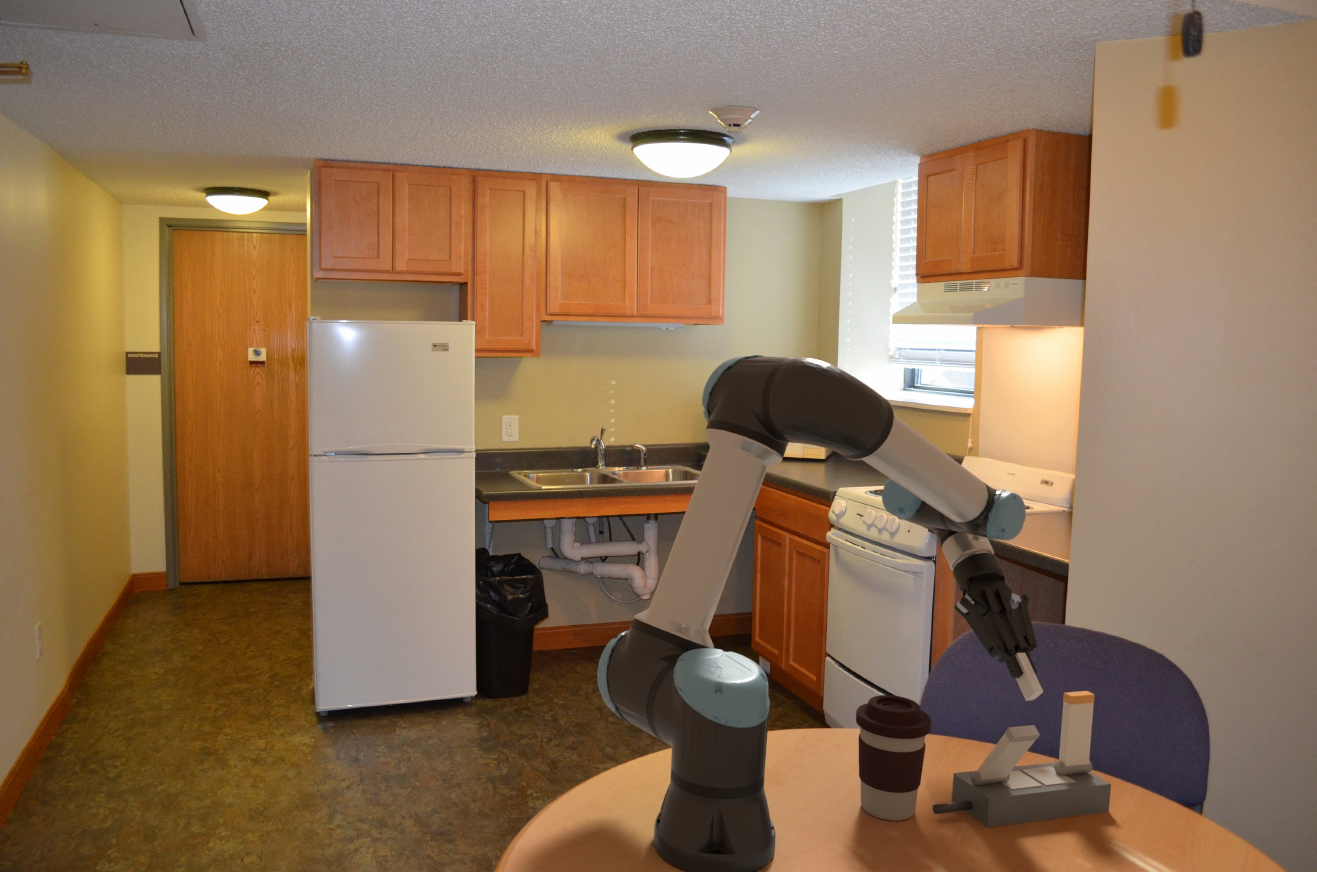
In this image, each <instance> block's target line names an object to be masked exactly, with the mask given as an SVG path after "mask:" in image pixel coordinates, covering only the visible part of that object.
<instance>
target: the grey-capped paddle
mask: <svg viewBox="0 0 1317 872" xmlns="http://www.w3.org/2000/svg"><path fill="white" fill-rule="evenodd" d="M1040 735H1041V734H1040V732H1039V731H1038V729H1037V727H1036V726H1035V725H1034V724H1033V725H1032V724H1031V725H1019V726H1009V727H1007V729H1006V730H1005V732H1004V733H1003V736H1002V737H1001V738H1000V739H999V741H997V743H996V745H995V746H994V747H993V749H992V750H991V751H990V752H989V754H988V755H987V757H986V758H985V760H983V762H982V763H981V765H980V766H979V768H978V769H977V770H971V771H972V772H971V781H972V783H973V784H974V785H980V784H989V783H998V782H1006V781H1009V778H1010V775H1009V773H1010V772H1011V771H1012V770H1013V768H1014V767H1015V766H1017V765H1018V763H1019V762H1020V760H1021V759H1022V758H1023V757H1024V756H1025V755H1026V752H1028V750H1030V748H1031V747H1032V746H1033V745H1034V743H1035V742H1036V741H1037V740H1038V738H1039V737H1040Z"/></svg>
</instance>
